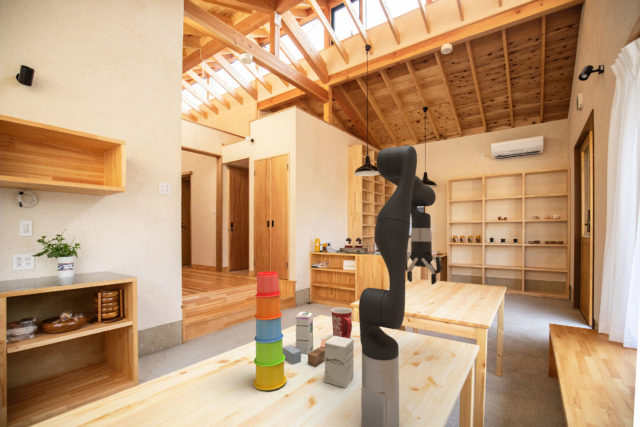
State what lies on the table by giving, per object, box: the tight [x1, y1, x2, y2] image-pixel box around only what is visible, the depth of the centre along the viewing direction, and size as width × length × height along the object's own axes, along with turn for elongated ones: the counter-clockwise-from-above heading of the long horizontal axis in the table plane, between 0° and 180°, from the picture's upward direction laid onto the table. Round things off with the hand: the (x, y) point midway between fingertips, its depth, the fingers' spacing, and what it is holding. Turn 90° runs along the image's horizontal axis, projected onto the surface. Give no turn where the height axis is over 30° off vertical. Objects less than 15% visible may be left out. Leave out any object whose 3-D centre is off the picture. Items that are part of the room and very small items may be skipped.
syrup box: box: [295, 311, 314, 355], centre depth 117 cm, size 6×6×14 cm
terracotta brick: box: [319, 339, 329, 349], centre depth 114 cm, size 7×4×4 cm, turn 175°
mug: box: [331, 307, 353, 339], centre depth 124 cm, size 13×9×14 cm
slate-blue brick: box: [283, 344, 302, 365], centre depth 108 cm, size 7×4×4 cm, turn 40°
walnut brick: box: [307, 346, 325, 368], centre depth 106 cm, size 7×4×4 cm, turn 145°
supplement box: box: [324, 336, 355, 389], centre depth 94 cm, size 7×7×13 cm
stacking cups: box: [253, 270, 288, 392], centre depth 93 cm, size 10×10×35 cm
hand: (421, 282), depth 111 cm, fingers open, 8 cm apart
